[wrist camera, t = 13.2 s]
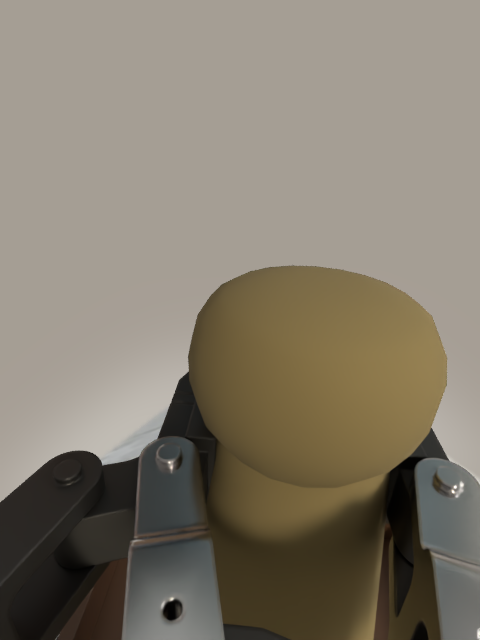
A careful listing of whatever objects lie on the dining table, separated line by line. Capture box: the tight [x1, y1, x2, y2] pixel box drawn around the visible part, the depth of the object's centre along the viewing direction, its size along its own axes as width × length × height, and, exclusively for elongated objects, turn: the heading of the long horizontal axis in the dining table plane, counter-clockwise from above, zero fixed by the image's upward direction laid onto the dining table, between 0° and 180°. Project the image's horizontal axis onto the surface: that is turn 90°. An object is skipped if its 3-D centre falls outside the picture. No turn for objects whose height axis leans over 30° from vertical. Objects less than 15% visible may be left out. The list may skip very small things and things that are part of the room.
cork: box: [188, 266, 447, 640], centre depth 10 cm, size 6×6×11 cm
